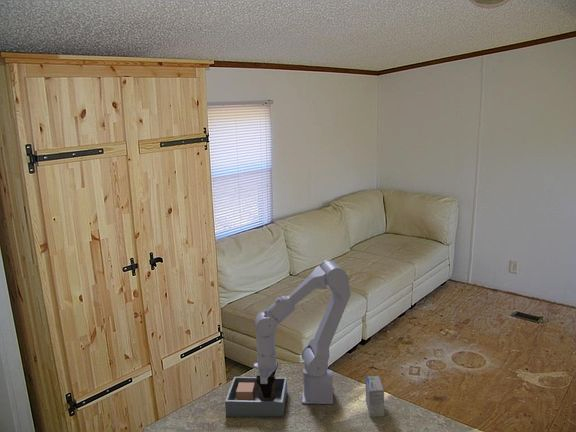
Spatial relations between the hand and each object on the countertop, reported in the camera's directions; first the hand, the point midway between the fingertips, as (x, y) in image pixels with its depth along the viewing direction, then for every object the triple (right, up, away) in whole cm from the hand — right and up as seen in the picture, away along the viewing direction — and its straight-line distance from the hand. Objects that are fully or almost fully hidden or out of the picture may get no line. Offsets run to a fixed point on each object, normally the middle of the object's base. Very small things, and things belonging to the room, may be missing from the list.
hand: (268, 391), depth 142 cm
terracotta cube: (-7, -4, +1) cm, 8 cm away
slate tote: (-3, -4, +1) cm, 5 cm away
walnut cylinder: (0, -2, 0) cm, 2 cm away
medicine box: (+32, -4, -4) cm, 33 cm away
